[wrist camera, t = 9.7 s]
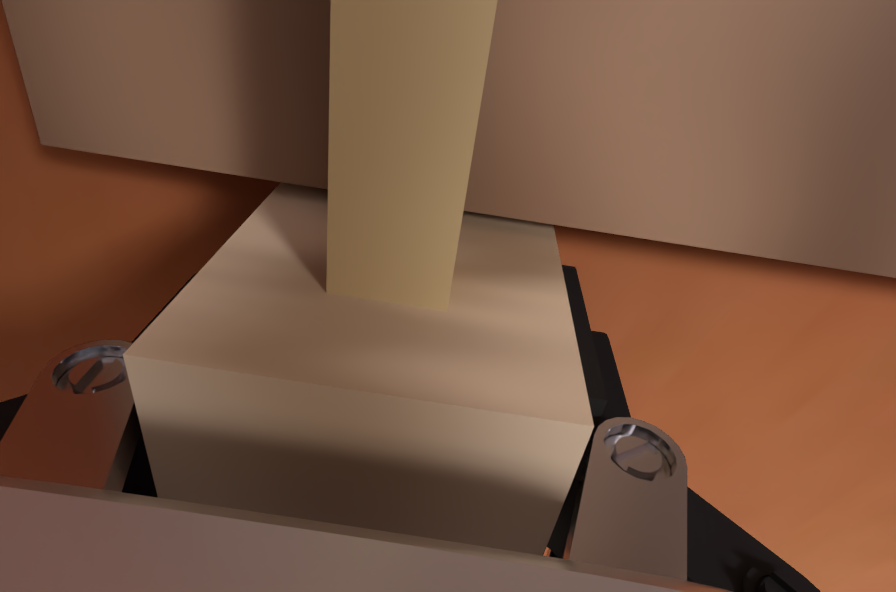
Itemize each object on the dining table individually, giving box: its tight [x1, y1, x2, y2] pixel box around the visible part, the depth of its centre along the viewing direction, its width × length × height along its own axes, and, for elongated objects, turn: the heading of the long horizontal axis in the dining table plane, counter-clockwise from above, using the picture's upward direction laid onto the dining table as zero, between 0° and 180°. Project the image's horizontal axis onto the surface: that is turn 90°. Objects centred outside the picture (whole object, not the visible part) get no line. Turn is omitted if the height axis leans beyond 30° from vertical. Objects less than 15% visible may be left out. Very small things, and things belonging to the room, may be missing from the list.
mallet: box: [123, 0, 594, 556], centre depth 8 cm, size 5×13×6 cm, turn 172°
